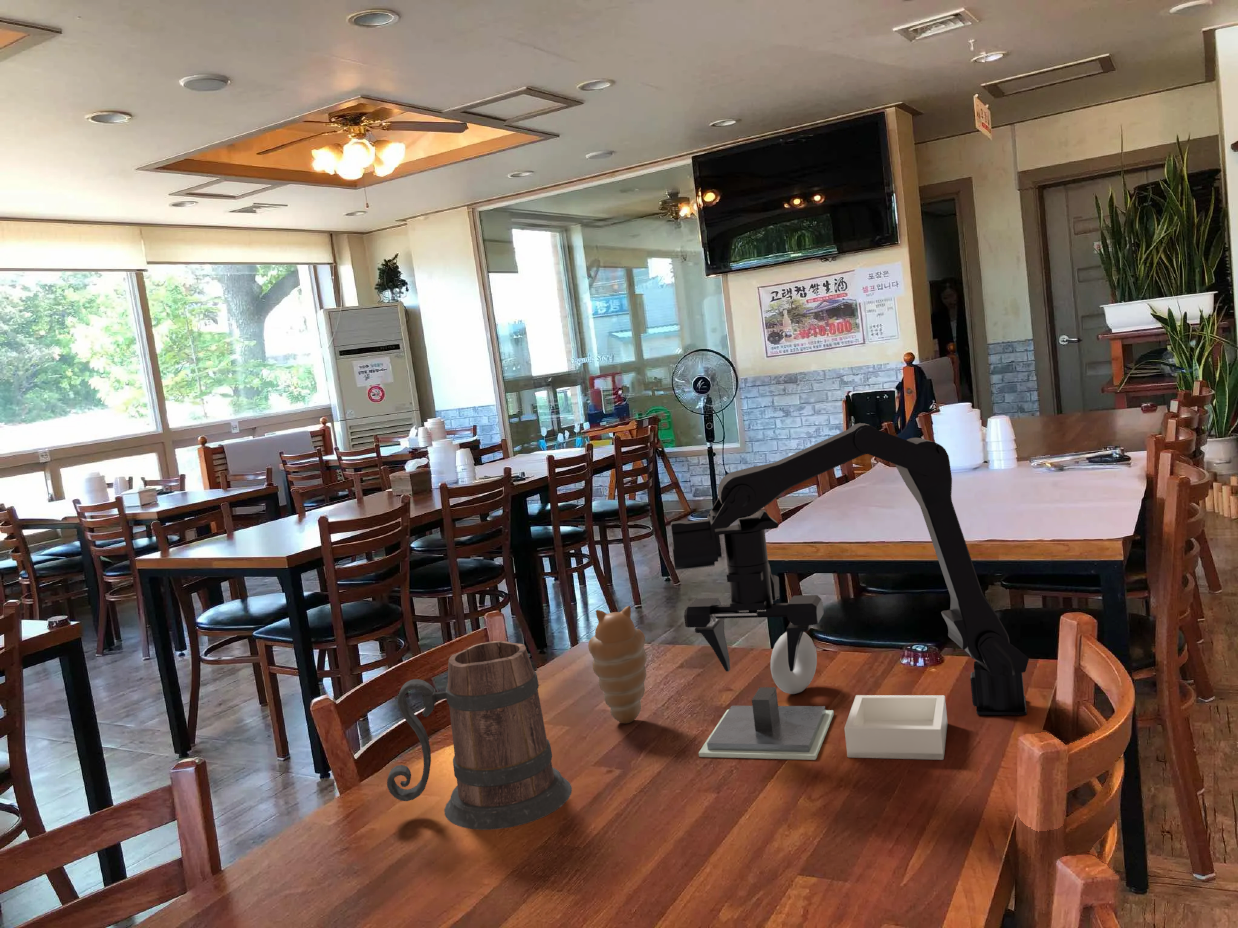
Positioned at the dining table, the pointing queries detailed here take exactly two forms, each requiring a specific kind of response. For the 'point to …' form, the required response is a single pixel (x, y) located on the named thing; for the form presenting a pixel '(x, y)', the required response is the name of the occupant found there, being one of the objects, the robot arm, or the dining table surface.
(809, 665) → the donut
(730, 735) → the lid
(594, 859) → the dining table surface
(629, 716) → the cat ice cream
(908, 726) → the dish
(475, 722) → the tankard
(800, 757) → the mat
